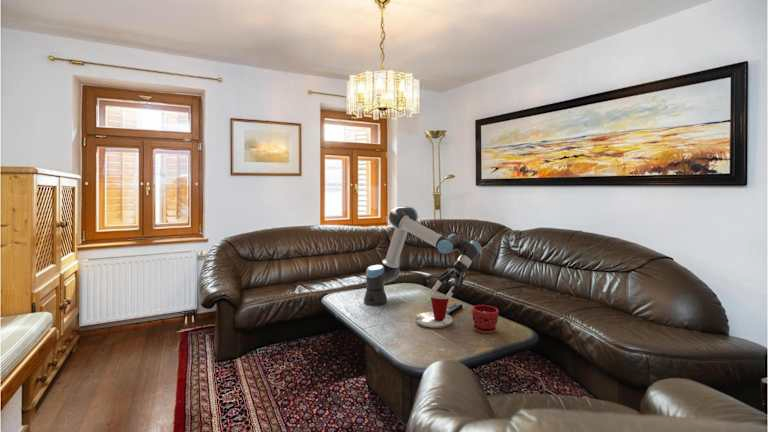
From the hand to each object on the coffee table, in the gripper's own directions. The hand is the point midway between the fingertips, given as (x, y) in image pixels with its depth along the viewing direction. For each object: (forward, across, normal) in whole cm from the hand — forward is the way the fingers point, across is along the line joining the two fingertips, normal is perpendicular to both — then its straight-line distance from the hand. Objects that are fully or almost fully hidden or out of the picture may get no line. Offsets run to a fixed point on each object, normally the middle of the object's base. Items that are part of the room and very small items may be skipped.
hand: (440, 293), depth 205 cm
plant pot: (+2, -22, -20) cm, 30 cm away
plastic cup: (+11, -3, -7) cm, 13 cm away
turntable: (+14, 0, -8) cm, 16 cm away
